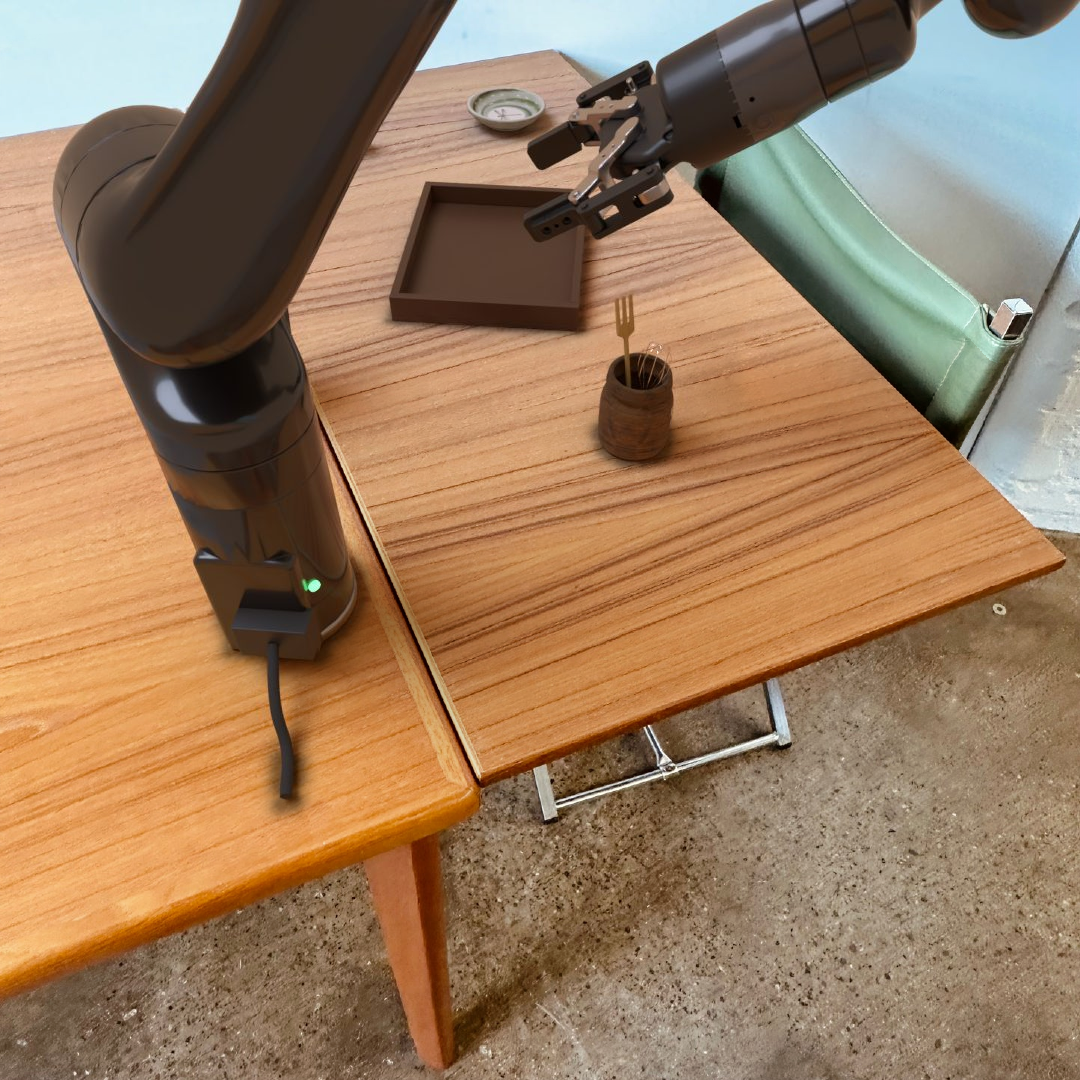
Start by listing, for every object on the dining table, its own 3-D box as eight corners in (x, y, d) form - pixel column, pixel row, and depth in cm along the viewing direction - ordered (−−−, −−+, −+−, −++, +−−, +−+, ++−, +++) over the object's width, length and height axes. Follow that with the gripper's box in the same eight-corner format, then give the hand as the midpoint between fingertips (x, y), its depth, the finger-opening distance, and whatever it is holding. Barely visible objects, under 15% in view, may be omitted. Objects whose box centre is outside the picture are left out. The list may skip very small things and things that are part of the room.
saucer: (558, 131, 112) (559, 111, 110) (486, 147, 109) (486, 126, 107) (524, 99, 117) (524, 80, 116) (455, 113, 115) (454, 94, 113)
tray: (577, 331, 86) (578, 307, 84) (391, 320, 86) (388, 297, 84) (586, 211, 100) (587, 189, 98) (427, 203, 100) (425, 180, 98)
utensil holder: (621, 472, 73) (636, 352, 64) (581, 426, 77) (589, 306, 68) (682, 448, 75) (704, 328, 66) (640, 404, 79) (655, 284, 70)
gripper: (711, -22, 61) (506, 96, 68) (732, 96, 53) (498, 216, 60) (750, 74, 66) (556, 174, 73) (775, 194, 58) (555, 294, 65)
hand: (530, 193), depth 67 cm, fingers open, 8 cm apart
